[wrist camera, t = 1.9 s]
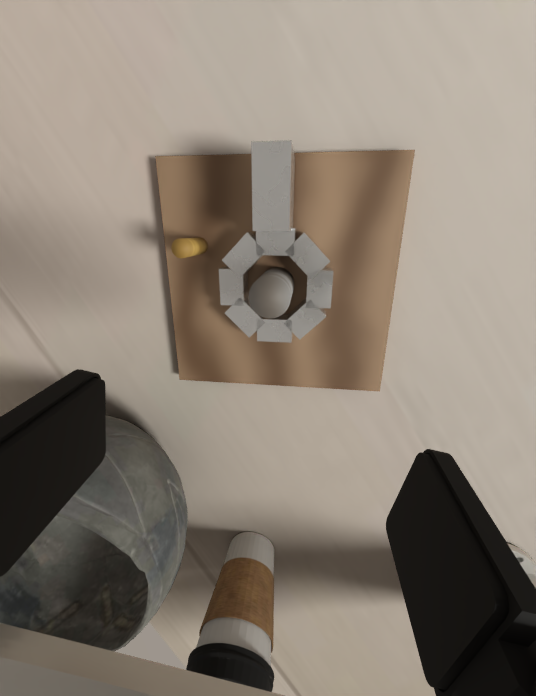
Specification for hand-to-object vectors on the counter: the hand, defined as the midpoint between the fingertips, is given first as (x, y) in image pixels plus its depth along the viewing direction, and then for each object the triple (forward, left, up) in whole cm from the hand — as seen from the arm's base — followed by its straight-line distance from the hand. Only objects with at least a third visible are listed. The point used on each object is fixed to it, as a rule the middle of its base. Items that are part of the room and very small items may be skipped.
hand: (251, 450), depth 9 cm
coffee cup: (+4, +33, -22) cm, 40 cm away
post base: (+1, -2, -21) cm, 21 cm away
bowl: (+19, +20, -22) cm, 35 cm away
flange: (+1, -4, -20) cm, 20 cm away
